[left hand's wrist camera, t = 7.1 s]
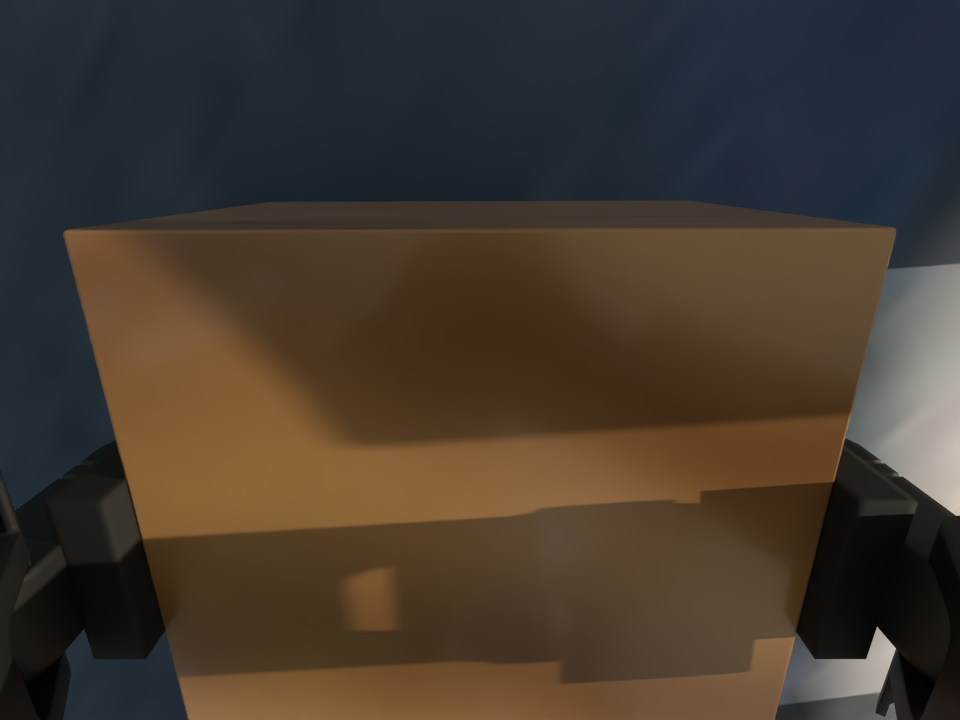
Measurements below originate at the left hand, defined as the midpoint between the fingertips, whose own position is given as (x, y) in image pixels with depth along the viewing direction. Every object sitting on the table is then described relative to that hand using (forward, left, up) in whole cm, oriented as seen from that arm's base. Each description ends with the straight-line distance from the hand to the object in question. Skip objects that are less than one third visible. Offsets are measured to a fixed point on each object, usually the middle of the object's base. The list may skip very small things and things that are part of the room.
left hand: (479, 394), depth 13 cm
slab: (+19, +14, -1) cm, 23 cm away
